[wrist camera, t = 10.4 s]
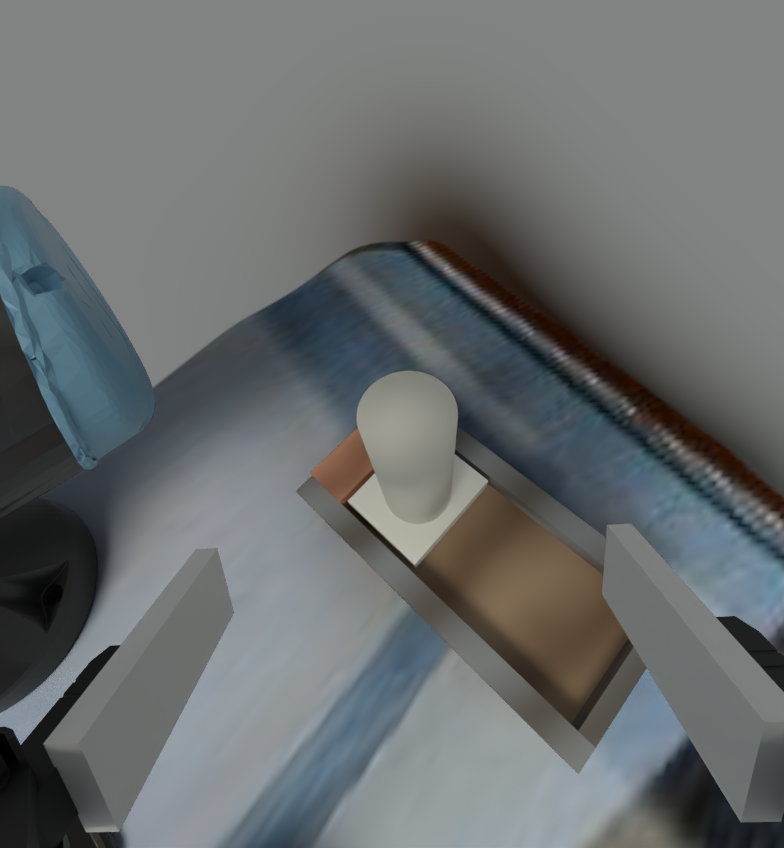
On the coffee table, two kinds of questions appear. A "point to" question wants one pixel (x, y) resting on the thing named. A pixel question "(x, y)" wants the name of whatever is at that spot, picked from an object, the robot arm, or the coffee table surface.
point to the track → (505, 594)
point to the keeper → (413, 463)
